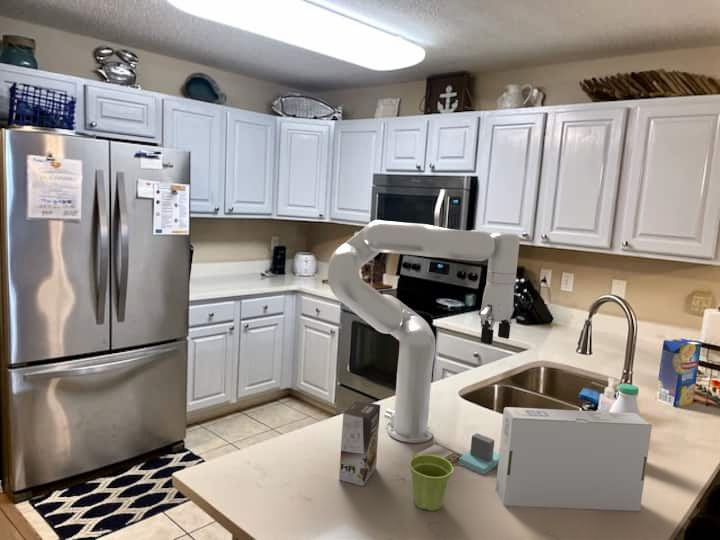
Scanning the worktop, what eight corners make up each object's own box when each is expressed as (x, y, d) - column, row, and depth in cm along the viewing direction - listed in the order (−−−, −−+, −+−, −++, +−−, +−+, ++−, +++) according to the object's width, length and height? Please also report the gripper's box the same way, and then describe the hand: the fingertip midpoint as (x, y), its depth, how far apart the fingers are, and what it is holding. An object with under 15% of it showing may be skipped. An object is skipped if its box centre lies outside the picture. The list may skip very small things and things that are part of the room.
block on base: (458, 463, 126) (460, 438, 125) (478, 450, 134) (480, 427, 133) (483, 474, 122) (486, 449, 121) (502, 461, 129) (505, 436, 128)
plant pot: (459, 508, 107) (462, 470, 106) (425, 521, 102) (428, 481, 101) (430, 486, 115) (433, 451, 114) (397, 497, 110) (400, 460, 109)
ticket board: (413, 460, 126) (413, 454, 126) (435, 448, 134) (436, 442, 134) (440, 473, 121) (440, 467, 121) (461, 459, 128) (462, 453, 128)
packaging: (624, 495, 117) (636, 413, 114) (640, 511, 110) (652, 424, 108) (495, 490, 115) (503, 406, 113) (503, 506, 109) (512, 418, 107)
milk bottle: (599, 457, 135) (608, 385, 132) (608, 448, 140) (617, 378, 138) (630, 468, 130) (641, 393, 127) (639, 458, 135) (649, 387, 133)
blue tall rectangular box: (692, 403, 180) (701, 343, 178) (674, 407, 175) (683, 345, 173) (673, 396, 186) (682, 338, 184) (655, 399, 181) (663, 340, 179)
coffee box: (364, 487, 113) (368, 418, 111) (337, 480, 115) (341, 412, 113) (377, 468, 122) (381, 404, 120) (352, 462, 124) (356, 399, 122)
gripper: (503, 274, 145) (497, 333, 147) (472, 278, 132) (466, 342, 134) (528, 278, 140) (521, 338, 142) (498, 283, 127) (492, 349, 129)
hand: (495, 340), depth 138 cm, fingers open, 9 cm apart
